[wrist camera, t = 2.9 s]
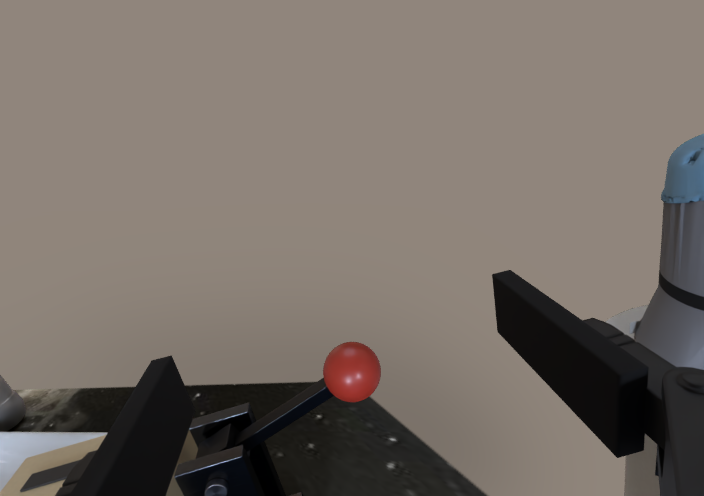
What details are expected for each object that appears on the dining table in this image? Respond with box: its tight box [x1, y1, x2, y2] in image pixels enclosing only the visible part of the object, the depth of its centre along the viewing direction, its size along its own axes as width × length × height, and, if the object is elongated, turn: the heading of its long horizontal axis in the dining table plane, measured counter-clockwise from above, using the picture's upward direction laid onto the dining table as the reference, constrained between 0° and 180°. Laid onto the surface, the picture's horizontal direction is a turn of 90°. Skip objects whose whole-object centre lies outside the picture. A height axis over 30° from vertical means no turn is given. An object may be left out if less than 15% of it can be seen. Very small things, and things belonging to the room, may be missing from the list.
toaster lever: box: [195, 342, 381, 459], centre depth 27 cm, size 14×4×4 cm, turn 100°
